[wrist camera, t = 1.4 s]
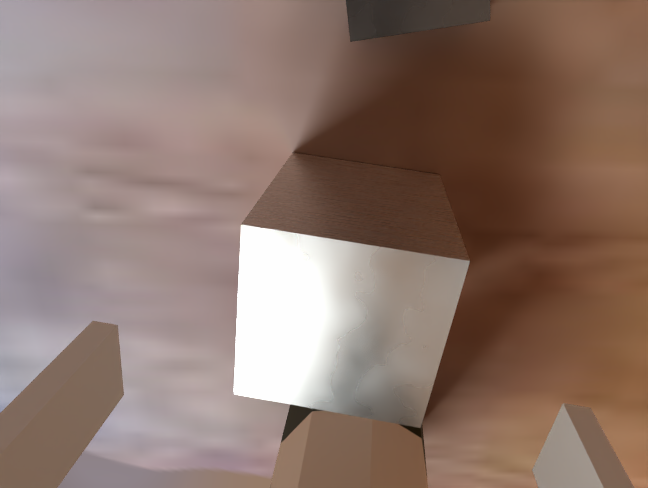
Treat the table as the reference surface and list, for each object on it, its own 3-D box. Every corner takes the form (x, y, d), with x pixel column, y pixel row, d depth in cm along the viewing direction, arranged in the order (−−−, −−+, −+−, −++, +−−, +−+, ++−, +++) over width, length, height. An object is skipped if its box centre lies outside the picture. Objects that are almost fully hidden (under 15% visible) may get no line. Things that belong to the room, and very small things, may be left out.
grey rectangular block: (292, 152, 23) (240, 224, 15) (439, 174, 22) (470, 261, 14) (281, 278, 26) (233, 394, 18) (409, 299, 25) (420, 427, 17)
